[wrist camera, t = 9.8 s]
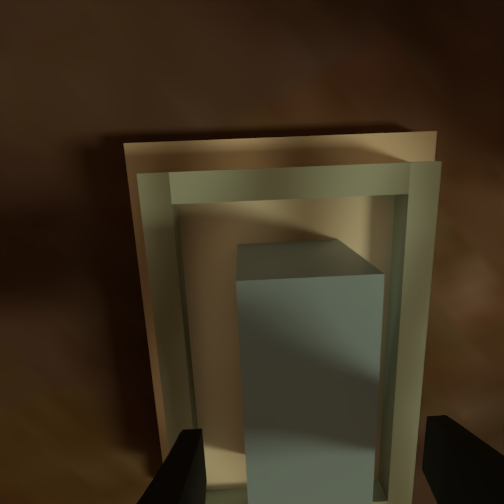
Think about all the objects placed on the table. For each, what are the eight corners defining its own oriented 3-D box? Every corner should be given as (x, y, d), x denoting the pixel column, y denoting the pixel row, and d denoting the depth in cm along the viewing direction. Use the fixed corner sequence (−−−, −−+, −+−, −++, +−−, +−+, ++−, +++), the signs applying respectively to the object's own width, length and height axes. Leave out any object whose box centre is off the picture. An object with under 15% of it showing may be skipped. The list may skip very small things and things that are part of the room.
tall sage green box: (338, 239, 15) (384, 273, 10) (334, 450, 18) (369, 556, 13) (237, 244, 15) (235, 281, 10) (248, 455, 18) (251, 564, 13)
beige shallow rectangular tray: (420, 133, 17) (476, 123, 13) (396, 468, 22) (431, 537, 18) (133, 145, 17) (99, 138, 13) (172, 481, 22) (156, 554, 18)
